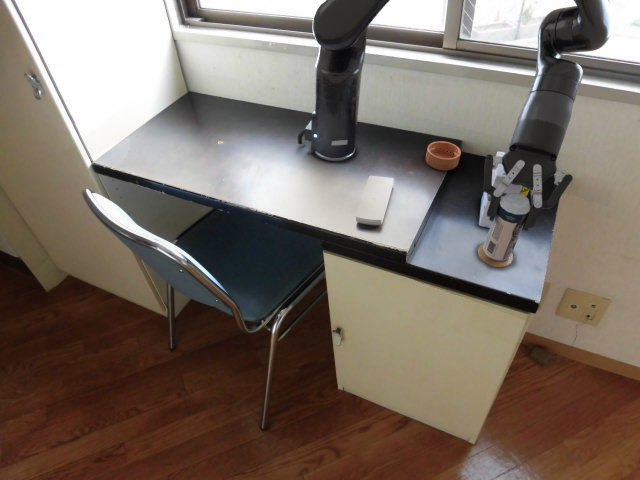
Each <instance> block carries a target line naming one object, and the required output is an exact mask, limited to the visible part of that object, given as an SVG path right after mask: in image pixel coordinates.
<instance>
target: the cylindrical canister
mask: <svg viewBox="0 0 640 480" xmlns="http://www.w3.org/2000/svg"><path fill="white" fill-rule="evenodd" d="M530 204H531V203H530V199H529V198H528V197H525V196H524V195H522V194H519V193H508V194H507V195H505V196H504V197H503V198H501V200H500V203H499V206H498V209H497V212H496V215H495V218H494V221H493V222H492V224H491V227H490V228H489V230H488V232H487V236H486V238H485V241H484V243H485V244H484V243H483V244H484V246H483V250H484V252H485V254H486V255H487V256H488V257H490V258H492V259H495V260H501V261H502V260H506V259H508V258H509V257H510V256H511V254H513V251H514V249H515V247H516V244H517V242H518V239H519V237H520V235H521V233H522V231H523V230H522V229H523V226H524V223H525V220H526V218H527V216H528V213H529V211H530V208H531V205H530Z"/></svg>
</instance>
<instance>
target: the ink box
mask: <svg viewBox="0 0 640 480" xmlns="http://www.w3.org/2000/svg"><path fill="white" fill-rule="evenodd" d="M505 153H506V152H505V151H497V152H496V155H495V156H500V157H503V155H504V154H505ZM505 177H506V173H505V171H504V168H503V165H502V163H500V164H498V166H497V168H496V169H495V170H493V172H492V186H493V187H495V188H496V189H497V187H498V186H499V185H500V184H501V182H502V181H503V179H504V178H505ZM521 188H522V185H514V184H510V186H509V187H508V188H507V189H506V190H505V192H504V193H503V194H502V195H501V197H500V199H501V198H503V197H504V196H505V195H507V194H508V193H520V191H521ZM490 202H491V196H490V195H489V194H488V193H486V192H484V191H483V193H482V197H481V200H480V211H479V222H478V226H479V227H483V228H487V229H488V228H489V229H490V227H491V224H492V221H489V218H490V217H488V216H487V211H488V208H489V205H490Z"/></svg>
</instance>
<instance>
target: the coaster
mask: <svg viewBox="0 0 640 480" xmlns="http://www.w3.org/2000/svg"><path fill="white" fill-rule="evenodd" d="M484 244H485V242H483V243H482V244H480V246H479V247H478V249H477V255H478V257H479V259H480V260H481V261H482V262H483V263H485V264H486V265H489V266H491V267H493V268H494V267H495V268H506V267H508V266H510V265H511V264H512V262H513V261H514V255H513V253H512V254H511V256H510V257H509V258H508V259H506V260H502V261H501V260H495V259H492V258H490V257H488V256H487V255H486V254H485V252H484V250H483V246H484Z"/></svg>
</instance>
